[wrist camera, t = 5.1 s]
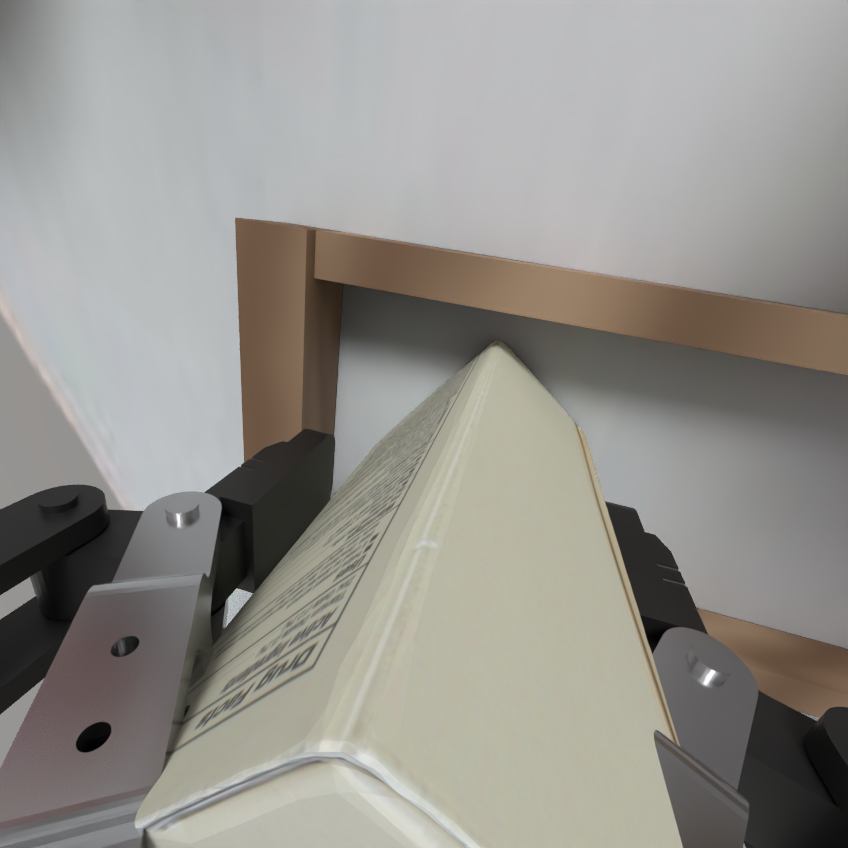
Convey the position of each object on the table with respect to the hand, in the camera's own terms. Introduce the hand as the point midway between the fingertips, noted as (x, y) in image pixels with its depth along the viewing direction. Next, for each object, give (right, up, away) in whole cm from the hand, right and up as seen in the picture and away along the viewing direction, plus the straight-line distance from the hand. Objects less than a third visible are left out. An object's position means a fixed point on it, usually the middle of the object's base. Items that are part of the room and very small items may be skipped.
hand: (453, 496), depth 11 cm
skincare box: (+1, +1, +4) cm, 4 cm away
